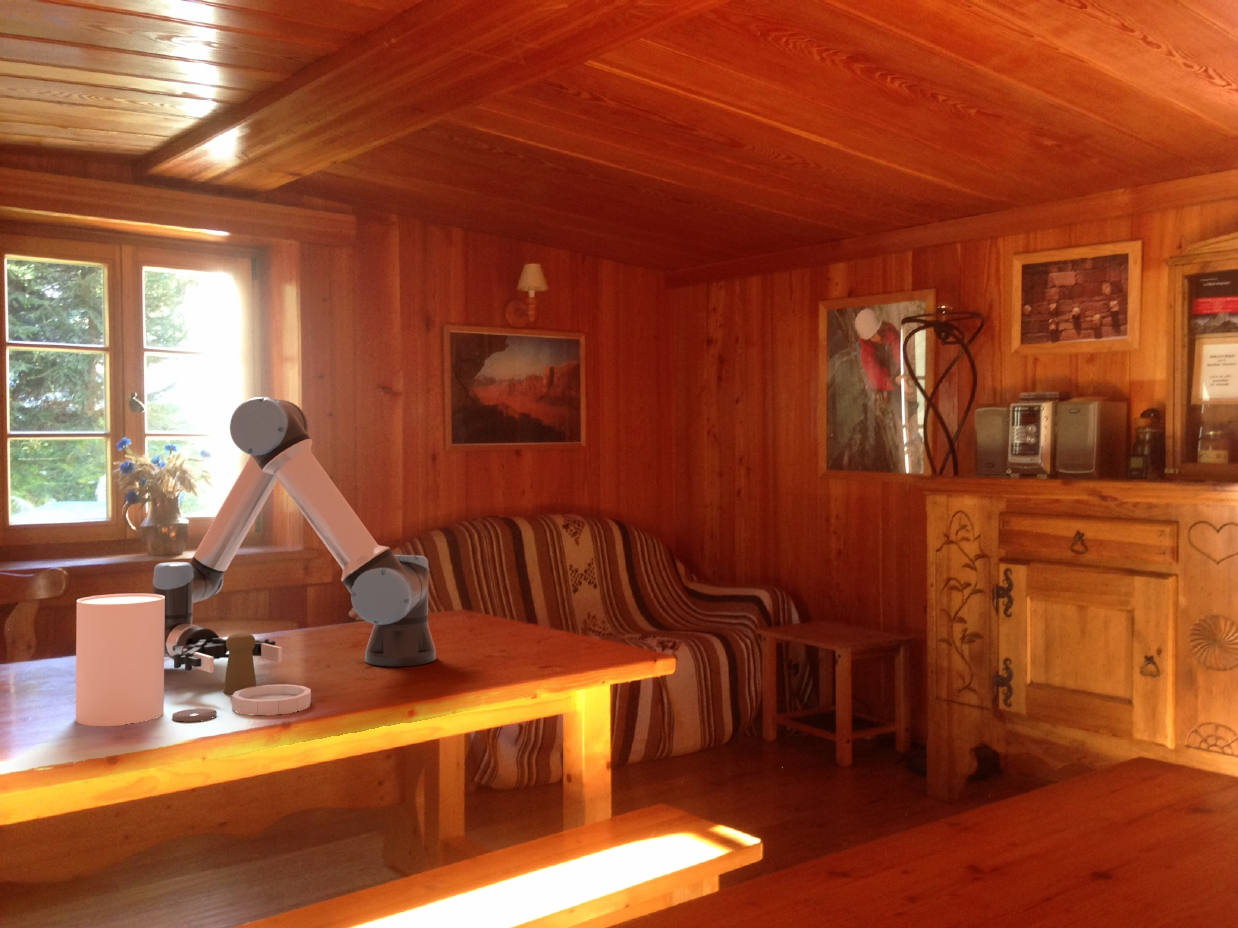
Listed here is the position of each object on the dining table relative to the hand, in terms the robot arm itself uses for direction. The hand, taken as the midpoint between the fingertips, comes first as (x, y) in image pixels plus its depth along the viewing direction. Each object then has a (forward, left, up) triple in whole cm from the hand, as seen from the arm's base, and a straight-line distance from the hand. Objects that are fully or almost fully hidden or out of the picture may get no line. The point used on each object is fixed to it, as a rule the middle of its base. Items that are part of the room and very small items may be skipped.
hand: (247, 659), depth 194 cm
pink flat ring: (-6, +11, -6) cm, 14 cm away
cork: (+1, -2, -7) cm, 7 cm away
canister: (+19, +13, -7) cm, 24 cm away
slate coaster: (+6, +16, -6) cm, 19 cm away
